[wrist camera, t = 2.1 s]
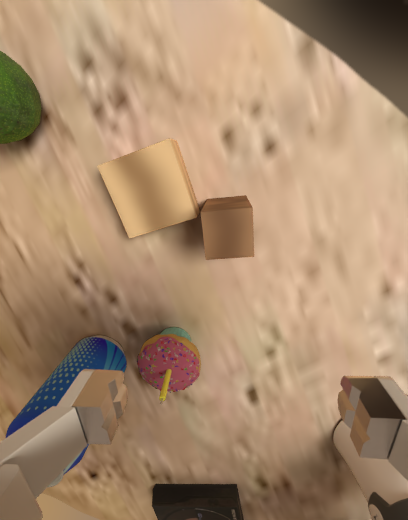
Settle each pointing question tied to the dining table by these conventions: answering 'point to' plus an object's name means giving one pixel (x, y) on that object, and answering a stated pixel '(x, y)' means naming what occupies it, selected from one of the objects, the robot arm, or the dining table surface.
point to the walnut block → (228, 228)
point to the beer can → (71, 381)
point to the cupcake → (169, 361)
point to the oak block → (150, 188)
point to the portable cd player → (196, 502)
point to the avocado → (17, 102)
